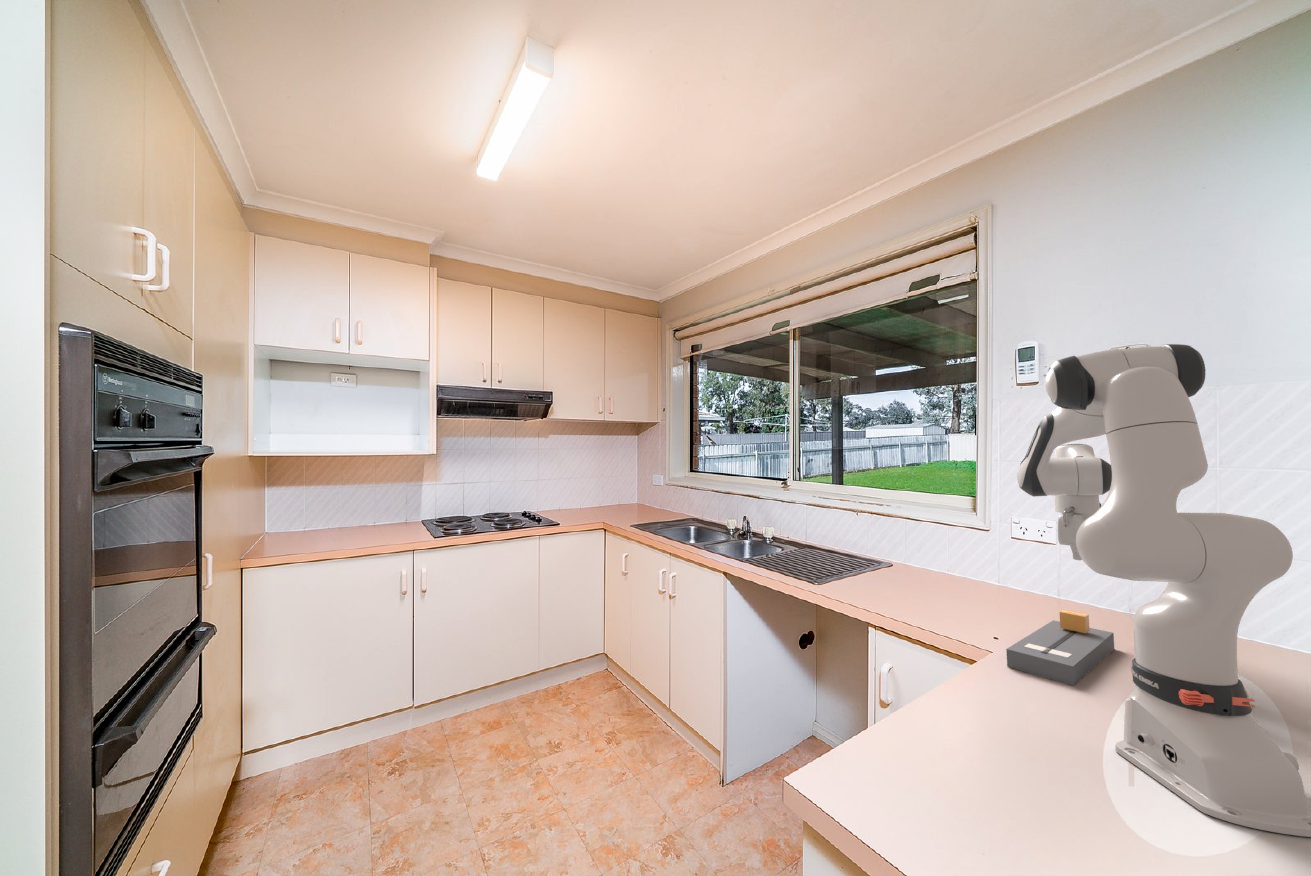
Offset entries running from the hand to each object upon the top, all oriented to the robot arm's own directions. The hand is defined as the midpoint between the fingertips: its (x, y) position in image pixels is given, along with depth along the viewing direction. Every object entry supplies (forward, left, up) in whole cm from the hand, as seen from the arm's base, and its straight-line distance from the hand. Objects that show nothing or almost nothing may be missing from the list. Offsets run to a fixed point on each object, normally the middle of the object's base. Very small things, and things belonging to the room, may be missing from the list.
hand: (1080, 559), depth 127 cm
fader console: (-13, +11, -21) cm, 27 cm away
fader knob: (-6, +4, -17) cm, 18 cm away
